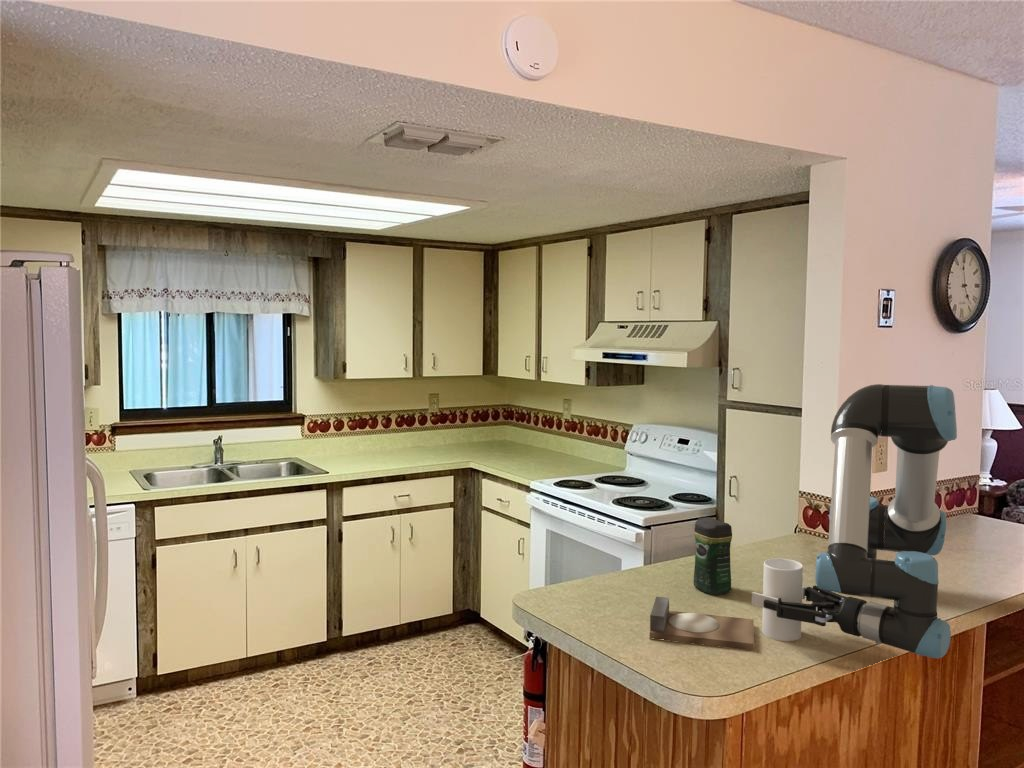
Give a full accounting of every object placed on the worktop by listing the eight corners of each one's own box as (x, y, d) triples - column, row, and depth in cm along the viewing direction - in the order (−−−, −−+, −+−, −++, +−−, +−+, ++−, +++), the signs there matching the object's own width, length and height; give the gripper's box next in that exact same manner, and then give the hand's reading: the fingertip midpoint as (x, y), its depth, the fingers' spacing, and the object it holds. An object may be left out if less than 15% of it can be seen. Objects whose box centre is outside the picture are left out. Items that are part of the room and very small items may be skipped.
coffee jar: (736, 593, 198) (738, 522, 197) (711, 597, 195) (712, 525, 194) (712, 581, 207) (713, 513, 206) (688, 585, 204) (689, 516, 203)
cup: (756, 627, 177) (758, 558, 175) (791, 625, 177) (793, 557, 176) (770, 641, 168) (772, 570, 167) (807, 640, 169) (809, 569, 168)
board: (753, 625, 177) (753, 604, 177) (753, 650, 164) (754, 627, 164) (656, 615, 184) (656, 595, 183) (649, 638, 170) (649, 616, 170)
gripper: (839, 653, 152) (738, 621, 168) (885, 621, 167) (789, 595, 183) (840, 616, 151) (738, 588, 167) (887, 587, 167) (790, 564, 183)
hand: (765, 592), depth 175 cm, fingers open, 10 cm apart
